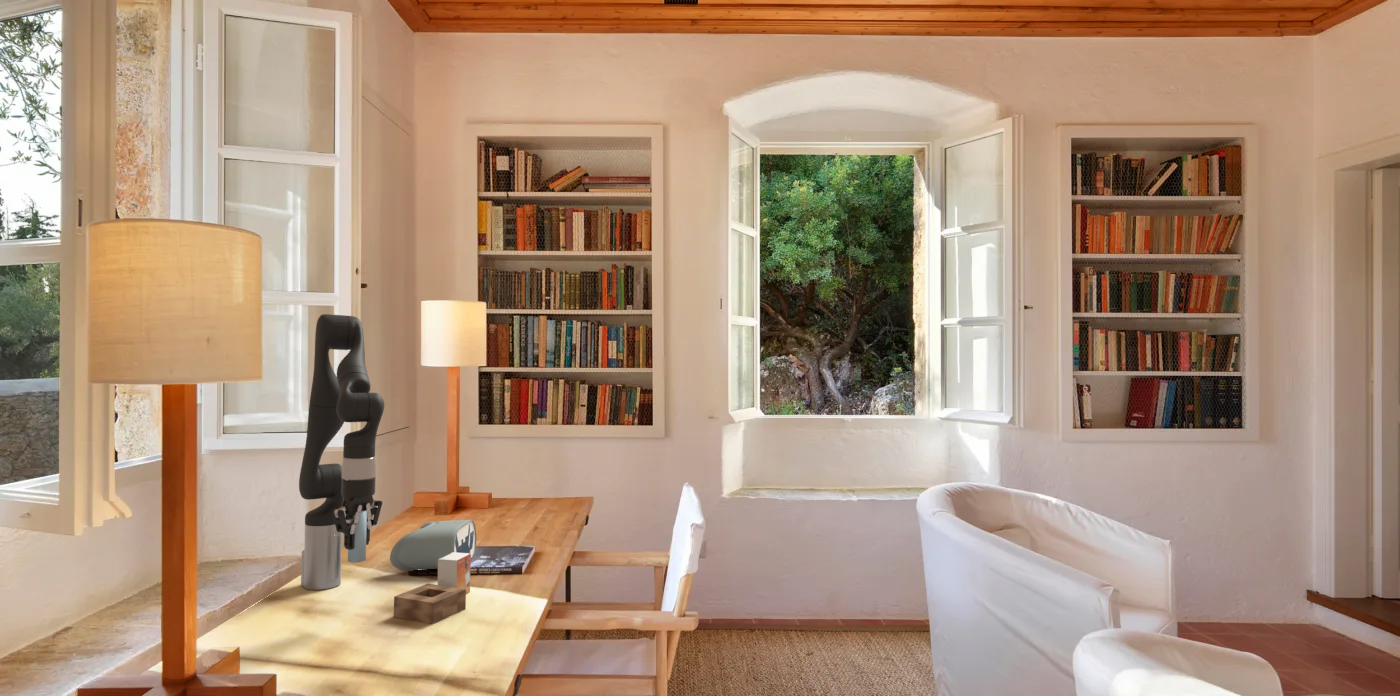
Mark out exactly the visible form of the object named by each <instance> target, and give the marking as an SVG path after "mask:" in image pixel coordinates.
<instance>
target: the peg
mask: <svg viewBox="0 0 1400 696" xmlns="http://www.w3.org/2000/svg"><path fill="white" fill-rule="evenodd" d="M349 520H353V519H352V518H349ZM349 528H350V523H349ZM366 530H367V511H366V510H363V511H361V512H360V515H359V520H358V523H357V524H356V526H355V530H354V533H353V534H355V539H354V549H352V550H349V549H347V562H348V563H353V564H354V563H356V564H357V563H362V562H365V561H366V560H367V559H366V558H367V557H366V556H367V545H366Z"/></svg>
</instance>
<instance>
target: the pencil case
mask: <svg viewBox="0 0 1400 696" xmlns="http://www.w3.org/2000/svg"><path fill="white" fill-rule="evenodd" d="M476 547H477V528H476V523H475V521H474V520H472V519H462V520H461V519H460V520H458V519H456V520H453V519H452V520H441V521H439V520H438V521H435V520H434V521H427V522H425V523H424V524H423V525H421V527H420V528H418V529H416V530H414V531H411V532H409V533H407V534H405V535H404V536H402V537H401V538H400V539H399V540H398V541H397V542H396V543H395V544H394V546H393V547H392V548H391V551H390V554H389V560H390V563H391V565H392V566H393V567H394V568H397V570H401V571H405V572H414V571H413V570H415V569H422V570H423V569H437V570H438V559H440V558H443V557H445V556H447V555H449V554H451V553H452V552H457V553H470V554H471V558H472V559H473V557H474V555H475V552H476Z"/></svg>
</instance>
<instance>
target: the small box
mask: <svg viewBox="0 0 1400 696" xmlns="http://www.w3.org/2000/svg"><path fill="white" fill-rule="evenodd" d="M471 563H472V559H471V554H470V553H457V552H452V553H451V554H449V555H447V556H445V557H443V558H440V559H438V569H437V585H441V586H447V587H454V588H460V589H466V595H467V594H469V593H470V592H471V567H472V564H471Z"/></svg>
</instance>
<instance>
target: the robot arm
mask: <svg viewBox="0 0 1400 696" xmlns="http://www.w3.org/2000/svg"><path fill="white" fill-rule="evenodd" d="M363 329H364V328H363V324H362V321H361V320H360V318H358V317H357V316H353V315H342V314H341V315H340V314H331V313H327V314H326V313H325V314H321V315H320V316H319V317H318V319H317V321H316V326H315V336H314V358H313V359H314V363H313V377H312V383H311V390H310V396H309V405H308V414H307V415H308V416H307V417H308V418H307V419H308V420H307V429H306V439H305V447H304V450H303V457H302V463H301V467H300V471H299V479H298V490H299V494H300V496H301V498H302V499H304V500H306V501H307V500H310V501H311V500H317V499H320V500H321V499H325V501H324V502H323V503H321V504H320V505H318V506H317V507H316V508H314V509H311V510H310V511H308V512H306V514H305V516H304V550H301V560H300V561H301V564H300V565H301V566H300V567H301V568H300V569H301V571H300V574H301V575H300V576H301V577H300V578H301V579H300V586H302V587H303V588H304V589H306V590H312V591H313V590H316V591H317V590H318V591H319V590H327V589H332V588H335V587H337V586H340V585H341V582H342V581H341V578H342V576H341V575H342V538H343V540H344V541H343V546H344V548H345V550H348V549H349V550H352V549H354V539H355V534H353V533H354V530H355V526H356V524H357V523H358V520H359V515H360V512H361V511H363V510H366V511H367V530H366V546H368V545H369V543H370V541H371V540H370V539H371V538H370V537H371V529H372V527H373V526H376V525H377V524H378V521H379V518H380V514H381V511H382V510H381V509H382V505H383V501H382V500H377V499H374V497H373V495H375V494H376V474H377V472H376V471H377V469H376V467H377V465H376V440H377V439H376V437H377V433H378V429H379V426H380V423H381V420H382V417H383V414H384V410H385V401H384V399H383V396H382V395H381V394H379V393H377V392H370V391H371V382H370V379H369V374H368V371H367V367H366V366H367V365H366V358H365V355H366V353H365V352H366V350H365V340H364V339H365V338H364V330H363ZM330 350H338V351H348V353H347V354H345V356H344V357H343V358H342V359H341V361H340V362H339V364H338V365H337V368H336V372H335V371H334V368H333V366H332V364H331V361H330V356H329V353H330ZM365 422H366V423H365ZM344 423H365V425H364V426H363V428H361V429H359V430H355V431H351V432H348V433H346V434H345V435H344V437H343V452H342V453H343V454H342V455H343V457H342V464H340V463H325V464H324V463H323V464H320V463H321V460H322V459H321V458H322V456H323V453H324V451H325V450H326V448H327V446H329V444H330V443H331V441H332V440H333V439H334V438H335V436H336V435H337V434H338V432H339V431H340V430H341V428H342V427H343V425H344ZM349 518H352V519H353V520H349ZM349 523H350V528H349ZM342 534H343V537H342Z"/></svg>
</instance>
